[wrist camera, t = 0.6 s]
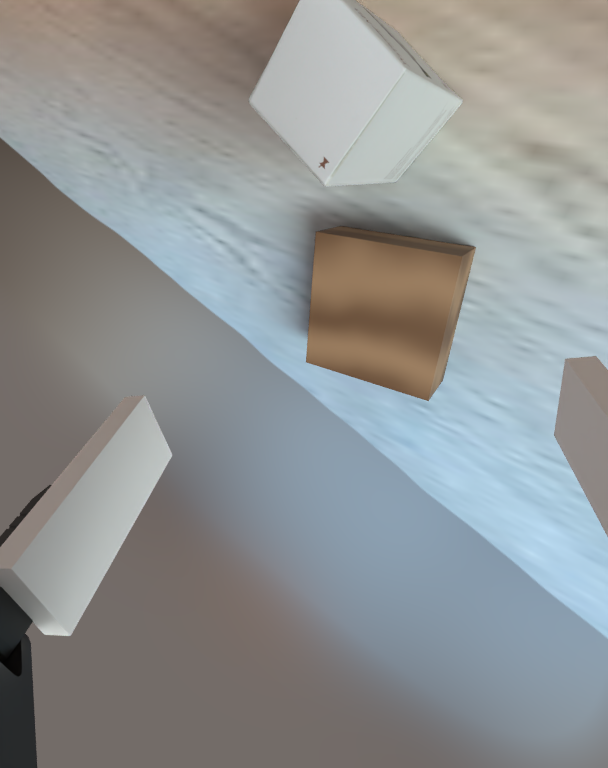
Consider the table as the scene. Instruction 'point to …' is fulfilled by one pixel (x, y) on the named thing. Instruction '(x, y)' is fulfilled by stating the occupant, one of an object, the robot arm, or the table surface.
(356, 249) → the walnut box
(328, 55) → the supplement box
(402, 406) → the table surface
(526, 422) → the table surface
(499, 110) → the table surface
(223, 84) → the table surface
